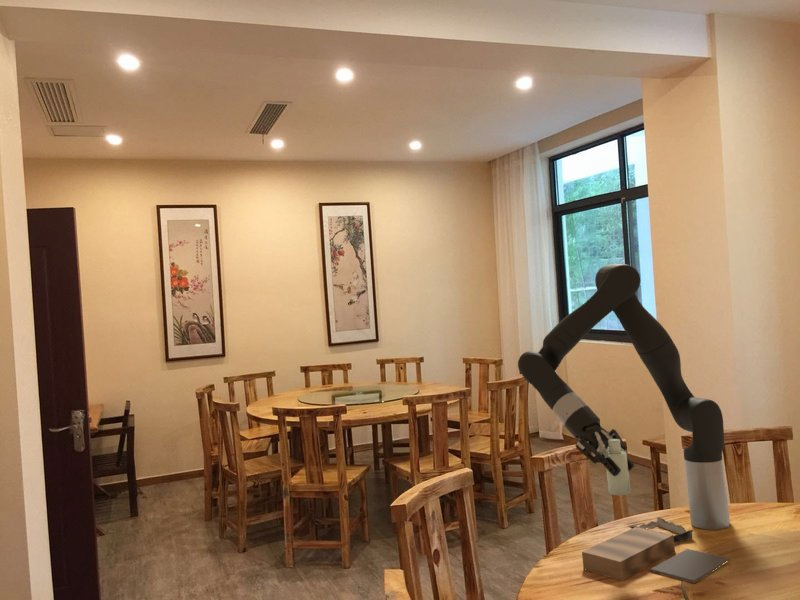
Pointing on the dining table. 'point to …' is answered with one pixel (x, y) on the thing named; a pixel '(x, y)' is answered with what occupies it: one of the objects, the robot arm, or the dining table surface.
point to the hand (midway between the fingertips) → (624, 470)
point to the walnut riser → (628, 553)
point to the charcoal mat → (689, 565)
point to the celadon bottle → (621, 481)
